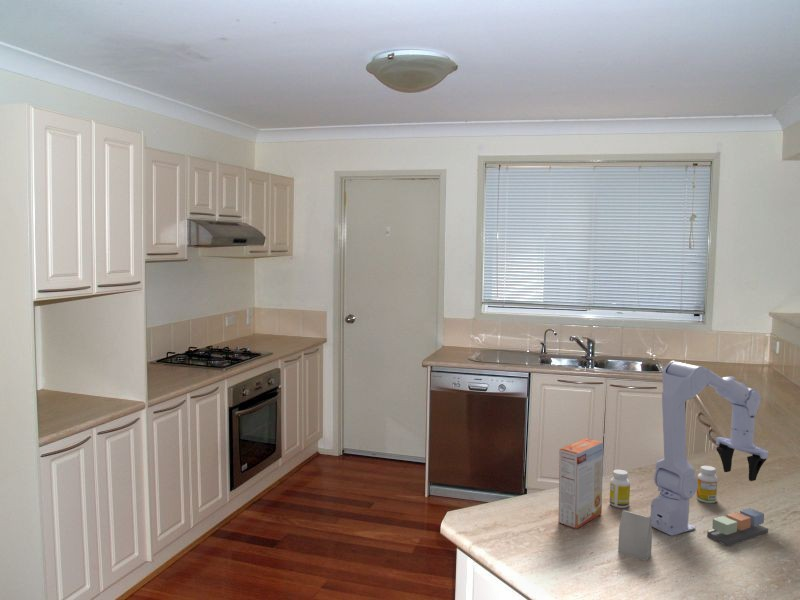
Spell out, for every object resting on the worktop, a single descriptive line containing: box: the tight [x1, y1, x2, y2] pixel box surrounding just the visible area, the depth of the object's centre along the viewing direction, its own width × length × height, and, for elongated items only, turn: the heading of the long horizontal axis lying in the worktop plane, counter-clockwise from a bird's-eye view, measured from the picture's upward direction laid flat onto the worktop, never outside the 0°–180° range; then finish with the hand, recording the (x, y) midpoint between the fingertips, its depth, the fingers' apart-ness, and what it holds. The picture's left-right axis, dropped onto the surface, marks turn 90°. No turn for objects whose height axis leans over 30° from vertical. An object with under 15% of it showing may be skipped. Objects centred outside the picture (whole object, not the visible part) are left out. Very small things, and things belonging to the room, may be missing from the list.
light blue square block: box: [739, 507, 765, 526], centre depth 170 cm, size 4×4×3 cm
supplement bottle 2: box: [696, 465, 719, 504], centre depth 190 cm, size 5×5×10 cm
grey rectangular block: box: [617, 509, 653, 562], centre depth 157 cm, size 4×7×10 cm, turn 51°
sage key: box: [711, 515, 737, 535], centre depth 164 cm, size 4×4×3 cm
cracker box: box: [558, 437, 604, 530], centre depth 175 cm, size 14×6×21 cm, turn 135°
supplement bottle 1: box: [609, 469, 631, 509], centre depth 186 cm, size 5×5×10 cm
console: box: [706, 524, 769, 547], centre depth 167 cm, size 16×6×2 cm, turn 118°
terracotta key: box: [726, 511, 751, 531], centre depth 167 cm, size 4×4×3 cm
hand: (739, 475), depth 182 cm, fingers open, 7 cm apart
